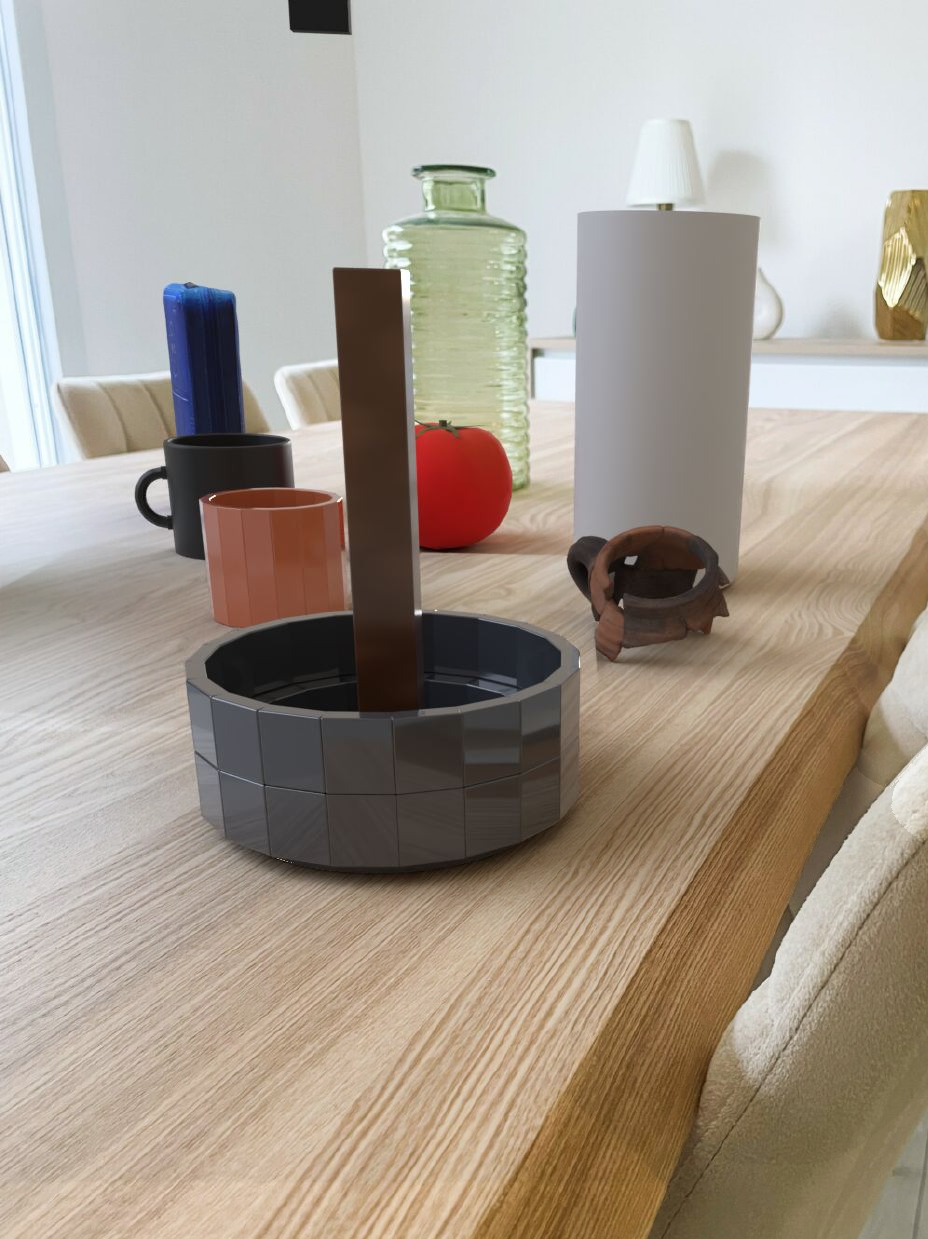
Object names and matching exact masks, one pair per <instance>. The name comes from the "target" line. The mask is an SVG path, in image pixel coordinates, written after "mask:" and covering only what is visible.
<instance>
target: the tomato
mask: <svg viewBox="0 0 928 1239" xmlns="http://www.w3.org/2000/svg"><path fill="white" fill-rule="evenodd" d="M415 423H417V424H415V444H416V471H417V499H418V526H419V547H422V548H428V549H431V550H432V549H433V550H444V549H445V550H447V549H453V548H464V547H470V546H473V545H476V544H478V543H480V542H481V541H483V540H484V539H486V538H488V537H489V536H491V535H492V534H494V533H495V532H496V530H498V528H500V526H501V525H502V523H503V521H504V519H505V517H506V515H507V514H508V512H509V509H510V505H511V501H512V497H513V486H514V485H513V484H514V480H513V470H512V468H511V464H510V461H509V459H508V455H507V453H506V451H505V448H504V446H503V444H502V443H501V441H500V440H499V438H497V437H496V436H495V435H494V434H493V433H492V432H491V431H489V430H487V429H483V428H480V427H482V426H484V424H481V425H479V424H478V425H476V426H475V425H453V424H452V419H451V420H450V421H448V420H447V419H439V420H438V422H421V421H419V420H417V419H415Z"/></svg>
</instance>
